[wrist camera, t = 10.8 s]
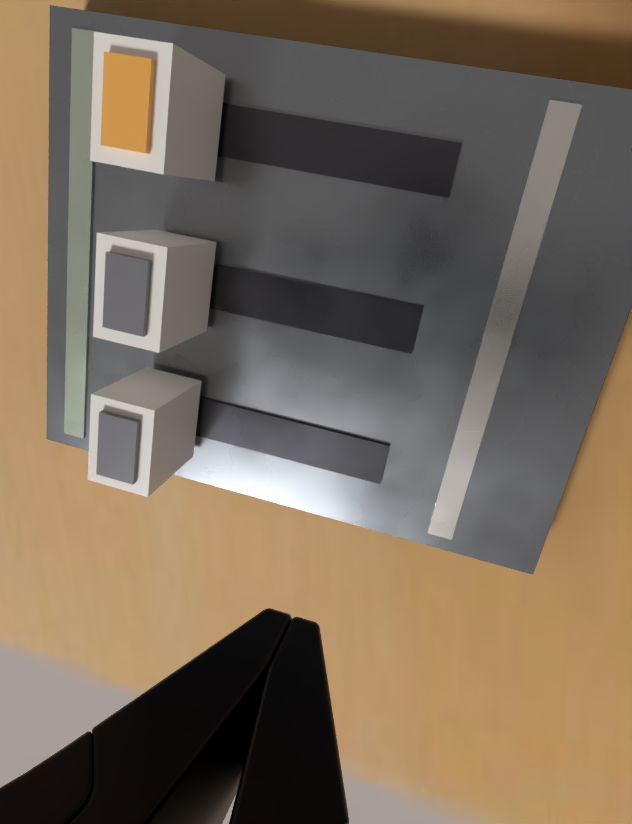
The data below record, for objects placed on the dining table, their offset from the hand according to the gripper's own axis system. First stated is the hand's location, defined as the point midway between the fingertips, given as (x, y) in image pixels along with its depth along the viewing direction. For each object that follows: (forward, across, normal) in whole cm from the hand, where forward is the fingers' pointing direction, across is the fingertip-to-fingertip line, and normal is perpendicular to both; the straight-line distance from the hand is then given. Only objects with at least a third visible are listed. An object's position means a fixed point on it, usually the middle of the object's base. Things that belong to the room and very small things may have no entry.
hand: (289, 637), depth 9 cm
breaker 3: (+10, +7, +1) cm, 12 cm away
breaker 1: (+10, +7, -7) cm, 15 cm away
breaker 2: (+10, +7, -3) cm, 13 cm away
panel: (+12, +3, -3) cm, 13 cm away
